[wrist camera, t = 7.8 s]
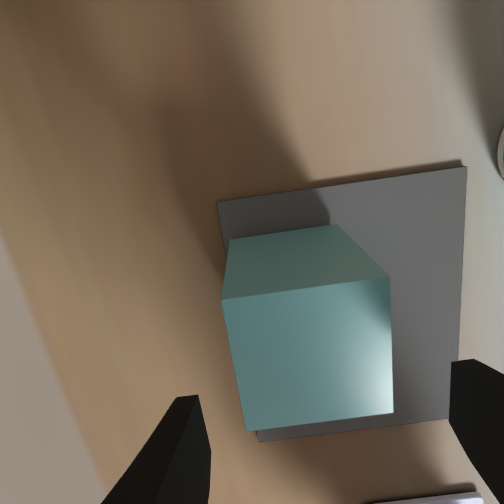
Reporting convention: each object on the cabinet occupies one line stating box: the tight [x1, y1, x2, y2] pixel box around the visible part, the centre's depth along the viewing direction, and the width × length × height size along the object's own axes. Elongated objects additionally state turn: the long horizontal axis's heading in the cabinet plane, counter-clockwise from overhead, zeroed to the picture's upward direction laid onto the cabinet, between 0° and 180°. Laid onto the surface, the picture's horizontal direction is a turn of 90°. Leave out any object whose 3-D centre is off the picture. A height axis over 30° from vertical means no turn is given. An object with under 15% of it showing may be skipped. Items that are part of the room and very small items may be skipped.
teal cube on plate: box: [221, 224, 393, 432], centre depth 15 cm, size 5×5×7 cm
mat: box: [217, 166, 467, 442], centre depth 19 cm, size 15×12×1 cm
